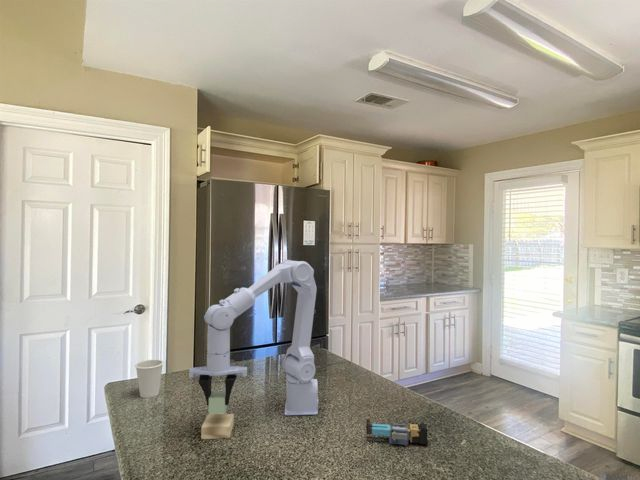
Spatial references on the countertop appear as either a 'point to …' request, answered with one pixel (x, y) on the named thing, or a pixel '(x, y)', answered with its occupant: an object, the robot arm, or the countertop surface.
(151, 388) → the dixie cup
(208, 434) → the maple block
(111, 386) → the countertop surface
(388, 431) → the toy
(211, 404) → the sage block
